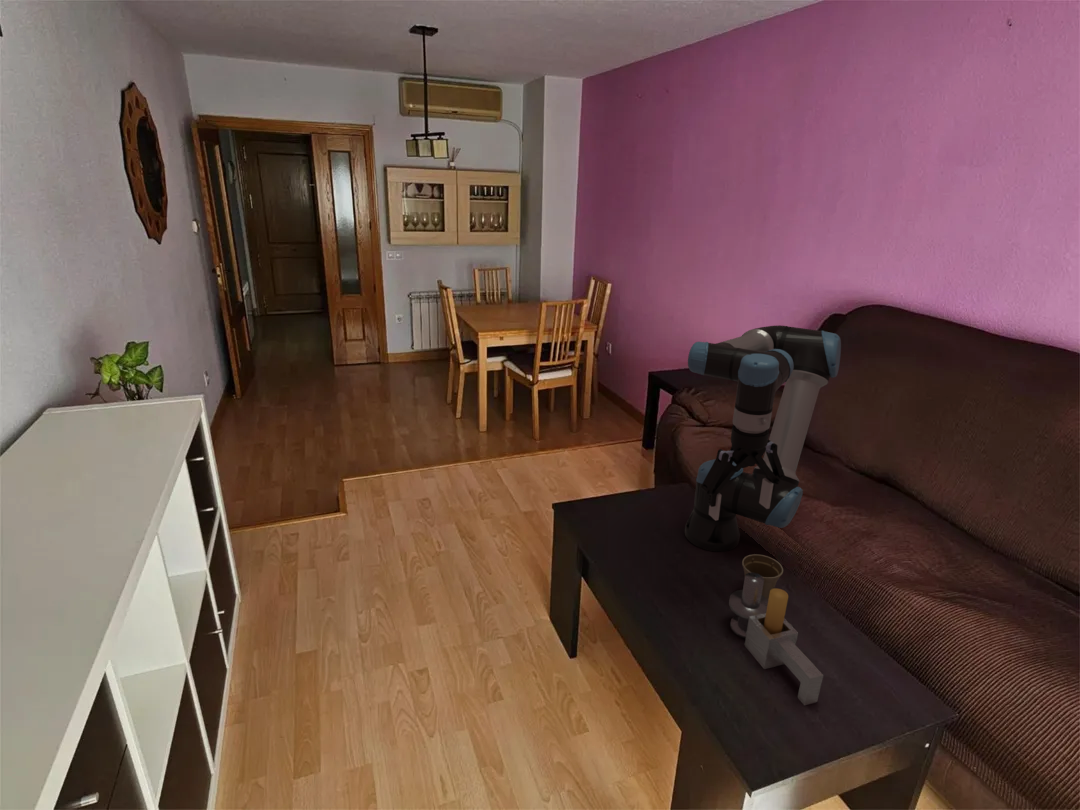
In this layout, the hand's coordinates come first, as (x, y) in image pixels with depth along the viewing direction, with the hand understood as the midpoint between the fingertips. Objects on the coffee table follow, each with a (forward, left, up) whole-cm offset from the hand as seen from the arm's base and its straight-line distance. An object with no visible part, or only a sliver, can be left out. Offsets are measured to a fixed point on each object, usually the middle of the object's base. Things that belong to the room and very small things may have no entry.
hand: (739, 511), depth 133 cm
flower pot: (-9, +3, -26) cm, 28 cm away
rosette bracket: (+6, +16, -26) cm, 31 cm away
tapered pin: (+6, +16, -24) cm, 29 cm away
